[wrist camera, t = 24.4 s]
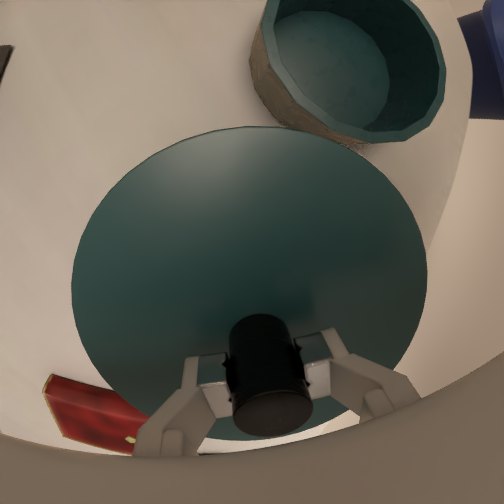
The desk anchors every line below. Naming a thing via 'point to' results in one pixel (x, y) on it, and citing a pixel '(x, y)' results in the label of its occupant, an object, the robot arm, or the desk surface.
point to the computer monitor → (3, 55)
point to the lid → (247, 272)
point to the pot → (349, 68)
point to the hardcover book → (93, 415)
